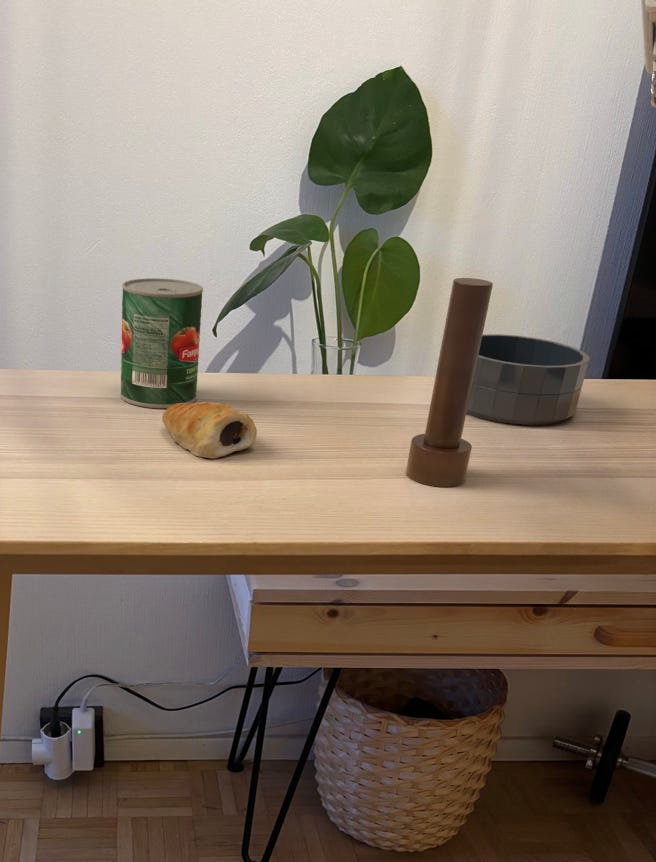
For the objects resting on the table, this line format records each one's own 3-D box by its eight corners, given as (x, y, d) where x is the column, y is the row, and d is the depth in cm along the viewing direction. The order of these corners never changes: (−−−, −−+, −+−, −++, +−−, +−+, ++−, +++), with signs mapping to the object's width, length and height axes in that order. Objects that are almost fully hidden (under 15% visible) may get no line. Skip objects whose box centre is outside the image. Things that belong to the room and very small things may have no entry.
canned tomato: (115, 386, 101) (117, 277, 95) (188, 386, 102) (194, 278, 97) (125, 409, 94) (127, 293, 89) (203, 408, 96) (210, 294, 90)
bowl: (601, 417, 99) (617, 359, 96) (512, 434, 93) (526, 372, 90) (504, 384, 109) (516, 330, 106) (418, 396, 103) (428, 340, 100)
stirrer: (477, 481, 82) (520, 285, 73) (434, 490, 79) (473, 289, 71) (436, 462, 85) (472, 274, 77) (393, 470, 83) (426, 277, 75)
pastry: (143, 431, 89) (145, 391, 87) (200, 421, 92) (203, 382, 90) (205, 463, 82) (208, 419, 80) (264, 450, 86) (268, 408, 84)
